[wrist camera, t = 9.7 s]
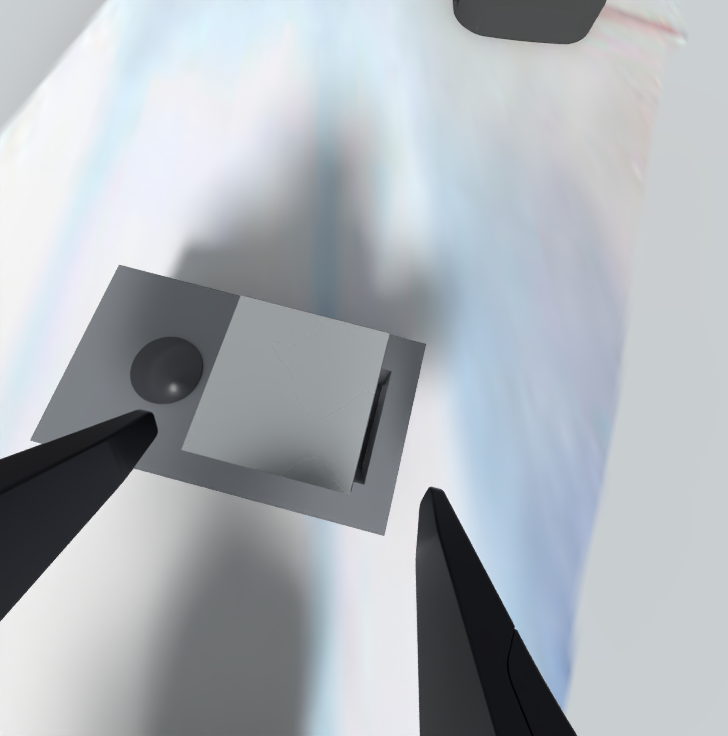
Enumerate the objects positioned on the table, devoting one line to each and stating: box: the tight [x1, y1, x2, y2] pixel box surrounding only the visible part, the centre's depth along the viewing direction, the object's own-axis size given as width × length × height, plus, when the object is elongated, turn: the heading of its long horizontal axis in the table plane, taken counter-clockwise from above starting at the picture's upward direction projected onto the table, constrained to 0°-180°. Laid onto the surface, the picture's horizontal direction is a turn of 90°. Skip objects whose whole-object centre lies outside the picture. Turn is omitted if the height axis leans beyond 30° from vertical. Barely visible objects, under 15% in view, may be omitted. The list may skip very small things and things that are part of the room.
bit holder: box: [31, 265, 426, 536], centre depth 17 cm, size 10×18×5 cm, turn 76°
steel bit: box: [181, 295, 390, 495], centre depth 13 cm, size 4×4×13 cm
